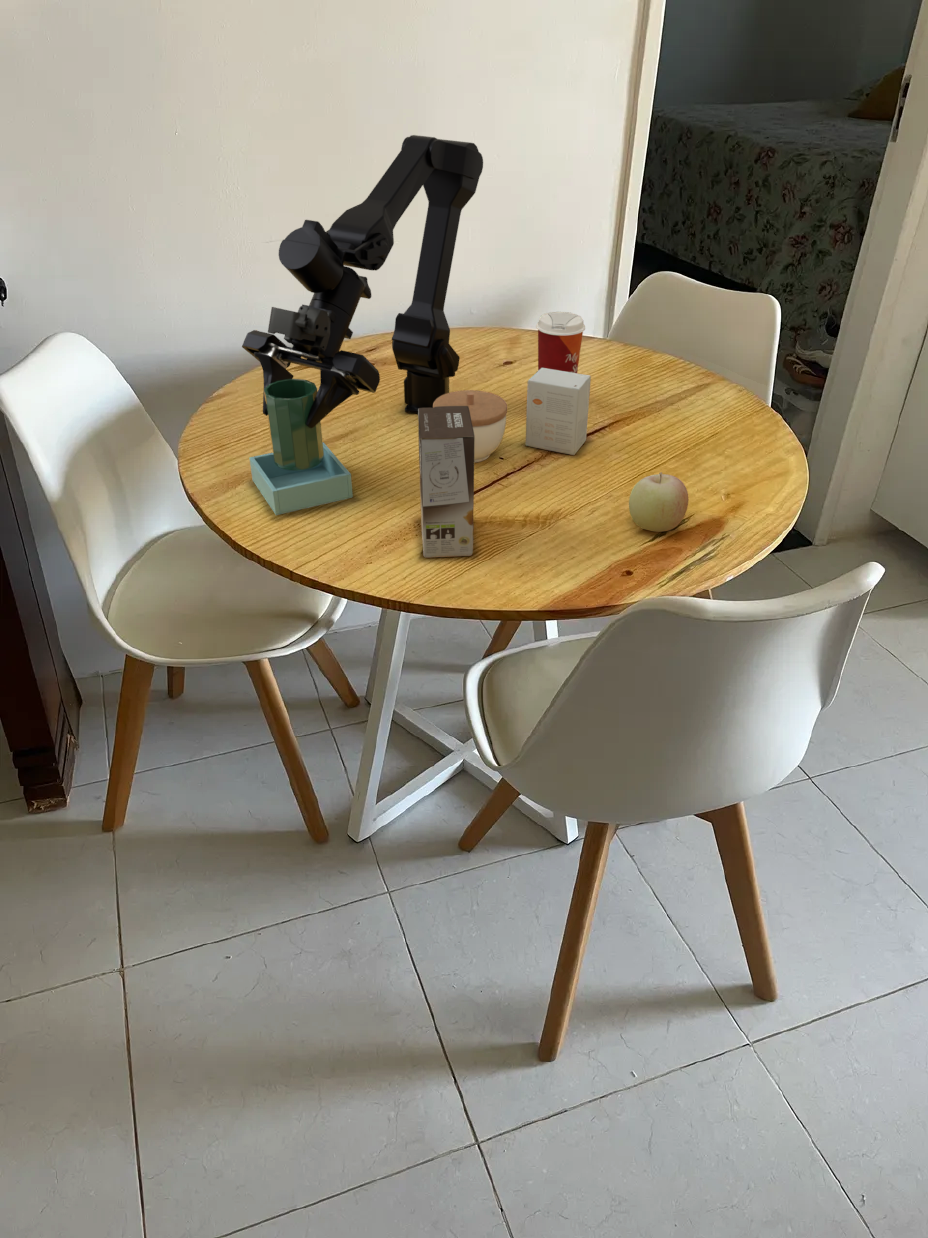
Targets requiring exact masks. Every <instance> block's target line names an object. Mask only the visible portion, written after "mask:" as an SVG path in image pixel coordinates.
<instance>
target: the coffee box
mask: <svg viewBox="0 0 928 1238" xmlns="http://www.w3.org/2000/svg"><path fill="white" fill-rule="evenodd" d="M417 421H418V422H417V425H418V427H417V428H418V429H417V430H418V431H417V432H418V433H417V434H418V468H419V470H418V471H419V474H418V475H419V501H420V503H419V504H420V525H421V539H422V541H421V542H422V553H423V557H424V558H446V557H447V558H448V557H449V558H450V557H470V556H473V553H474V509H475V508H474V507H475V506H474V505H475V502H474V501H475V463H474V442H475V436H474V431H473V426H472V421H471V416H470V411H469V407H468V406H438V407H434V408H419V409H418V413H417Z"/></svg>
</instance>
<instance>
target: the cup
mask: <svg viewBox="0 0 928 1238" xmlns="http://www.w3.org/2000/svg"><path fill="white" fill-rule="evenodd" d="M263 391H264V395H265V402H266V410H267V416H266V418H267V424H268V430H269V431H268V432H269V438H270V446H271V453H273V458H274V463H275V464H276V465H277V466H278V467H280V468H282V469H285V470H293V471H298V470H306V469H310V468H313V467H315V466H317V465H319V464H320V463H321V462H322V461H323V456H324V452H323V442H324V441H323V433H322V423H321V422H322V421H320V422H319V423H318V424H317V425H316V426H314V427H313V428H309V427H308V426H306V423H307V419H308V415H309V412H310V410H311V407H312V405H313V402H314V400H315V397H316V395H317V392H318V388H317V385H316V383H315V382H312V381H310V380H308V379H303V378H302V379H301V378H292V379H285V380H279V381H276V382H273V383H271V384H269V385H268V386H267V387H266V388H265V389H264V388H263Z"/></svg>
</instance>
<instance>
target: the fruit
mask: <svg viewBox="0 0 928 1238" xmlns="http://www.w3.org/2000/svg"><path fill="white" fill-rule="evenodd" d="M688 506H689V491H688V489H687V486H686V485H685V483H684V482H683V481H682V479H680V478H679V477H677V476H674V475H672V474H665V473H663V472H662V471H661V472H659V473H658V474H651V475H647V476H645V477H643V478H641V479H639V480H638V481H637V482H636V483H635V484H634V486H633V488H632V489H631V491H630V494H629V497H628V511H629V515H630V518H631V519H632V521H633V522H634V524H635V525H636V526H638V527H639V528H641V529H642V530H646V531H651V532H655V533H662V532H669V531H671V530H673V529H675V528H676V527H678V526H679V525H680V523H681V522H682V521H683V520H684V518H685V516H686V513H687V512H688V511H687V510H688V508H689V507H688Z"/></svg>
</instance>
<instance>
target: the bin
mask: <svg viewBox="0 0 928 1238" xmlns="http://www.w3.org/2000/svg"><path fill="white" fill-rule="evenodd" d="M322 442H323V452H324V456H323V461H322V462H321V463H320V464H319V465H317V466H315V467H313V468H310V469H306V470H298V471H293V470H285V469H282V468H280V467H278V466H277V465H276V464H275V463H274V458H273V453H272V452H269V453H264V454H260V455H254V456H249V458H248V459H249V466H250V472H251V480H252V482H253V483H254V485H255V487H256V488H257V490H258V491H259V492H260V494H261V496H262V497H263V498H264V500H265V501H266V503H267V505H268V506H269V507H270V509H271V510H272V512H273V514H275V516H279V515H280V516H281V515H283V514H288V513H292V512H297V511H300V510H301V511H302V510H304V509H305V510H306V509H309V508H313V507H318V506H322V505H326V504H330V503H335V502H339V501H344V500H348V499H351V498H353V497H354V495H353V483H352V473H351V472H350V471H349V470H348V469H347V468H346V466H345V465H344V464H343V463H342V462H341V461H340V459H339V458H338V457H337V456H336V455H335V454H334V453H333V451H332V450H331V449H330V447H328V446H327V444H326V443H325V442H324V441H322Z"/></svg>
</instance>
